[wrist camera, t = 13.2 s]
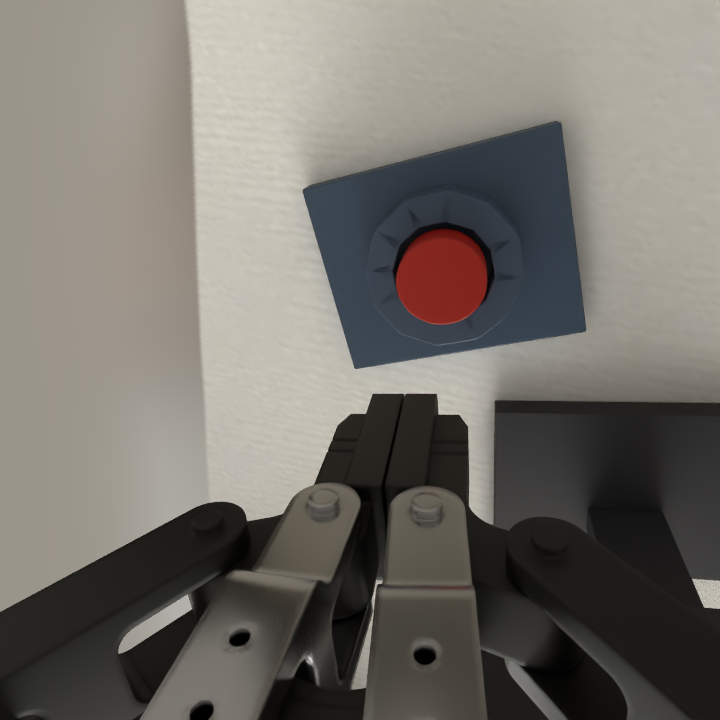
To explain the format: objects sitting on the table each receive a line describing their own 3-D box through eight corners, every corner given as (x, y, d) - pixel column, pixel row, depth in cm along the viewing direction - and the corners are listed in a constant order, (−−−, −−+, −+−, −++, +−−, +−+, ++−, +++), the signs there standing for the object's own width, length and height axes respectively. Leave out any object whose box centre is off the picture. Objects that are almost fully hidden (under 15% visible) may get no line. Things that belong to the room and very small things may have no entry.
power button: (478, 219, 23) (478, 228, 22) (493, 302, 25) (494, 316, 23) (392, 238, 24) (386, 248, 23) (411, 317, 26) (407, 332, 24)
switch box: (557, 120, 24) (567, 125, 21) (582, 322, 27) (594, 348, 24) (308, 185, 27) (289, 196, 24) (358, 359, 30) (347, 386, 27)
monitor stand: (741, 566, 31) (819, 709, 24) (493, 550, 34) (496, 674, 27) (781, 403, 27) (890, 518, 20) (494, 399, 29) (499, 500, 22)
